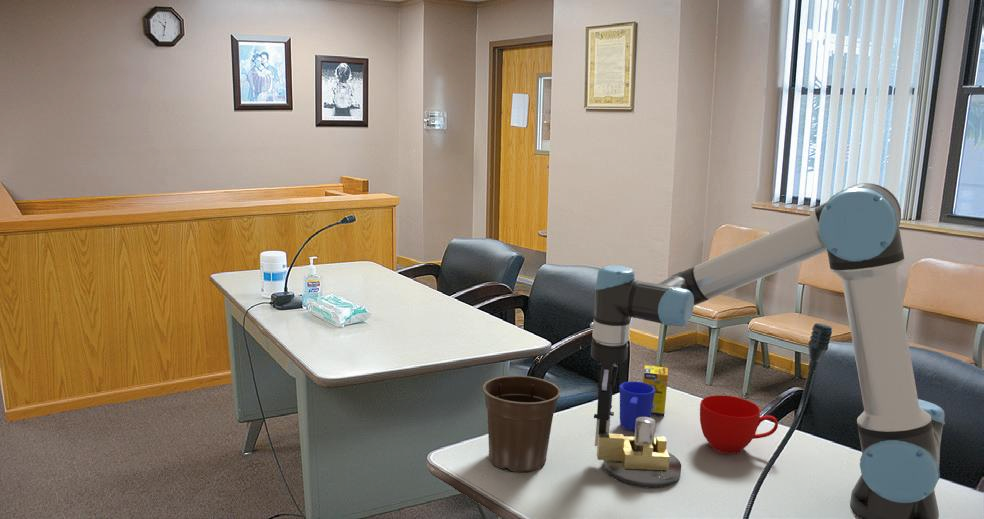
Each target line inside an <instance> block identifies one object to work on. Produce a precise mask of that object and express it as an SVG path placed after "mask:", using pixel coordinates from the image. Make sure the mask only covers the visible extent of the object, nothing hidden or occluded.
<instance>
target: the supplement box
mask: <svg viewBox="0 0 984 519" xmlns="http://www.w3.org/2000/svg"><path fill="white" fill-rule="evenodd" d="M642 373H643V374H642V375H643V377H642V383H646V384H649V385H651V386H653V387H654V388H655V394H654V400H653V405H652V411H651V416H658V417H665V412H666V411H665V410H666V402H667V401H666V400H667V399H666V398H667V389H668V388H667V387H668V379H669V369H668V367H664V366H657V365H643V372H642Z"/></svg>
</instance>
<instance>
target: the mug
mask: <svg viewBox="0 0 984 519" xmlns="http://www.w3.org/2000/svg"><path fill="white" fill-rule="evenodd" d="M654 394H655V388H654V387H653V386H651V385H649V384H646V383H643V381H634V380H633V381H626V382H622V383H620V384H619V424H620V426H621V427H622V428H623V429H625V430H627V431H632V432H635V426H636V419H637V418H638V417H649V418H652V415H651V411H652V405H653V400H654Z"/></svg>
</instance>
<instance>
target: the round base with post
mask: <svg viewBox="0 0 984 519" xmlns="http://www.w3.org/2000/svg"><path fill="white" fill-rule="evenodd" d="M655 432H656V420H655V419H654V418H652V417H650V418H649V417H638V418H637V419H636V426H635V431H634V437H635V438H634V450H633V451H637V452H641V446H642V444H652V446H653V445H654V438H655ZM667 452H668V454H669V457H670V458H669V468H668V470H648V469H626V468H624V466H623V463H622V461H613V460H603V466H602V467H603V470H604V471H605V473H606V474H607V475H608V476H609V477H611V478H612V479H614V480H615V481H618V482H620V483H622V484H625V485H627V486H628V485H629V486H631V487H634V488H635V487H636V488H641V489H642V488H644V489H660V488H666V487H667V488H668V487H670V486H672V485H674V484H676V483H678V481H679V480H680V479H681V473H682V463H681V461H680V460H679V459H678V457H677V456H675V455H674V454H672V453H671V452H669V451H667Z"/></svg>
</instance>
